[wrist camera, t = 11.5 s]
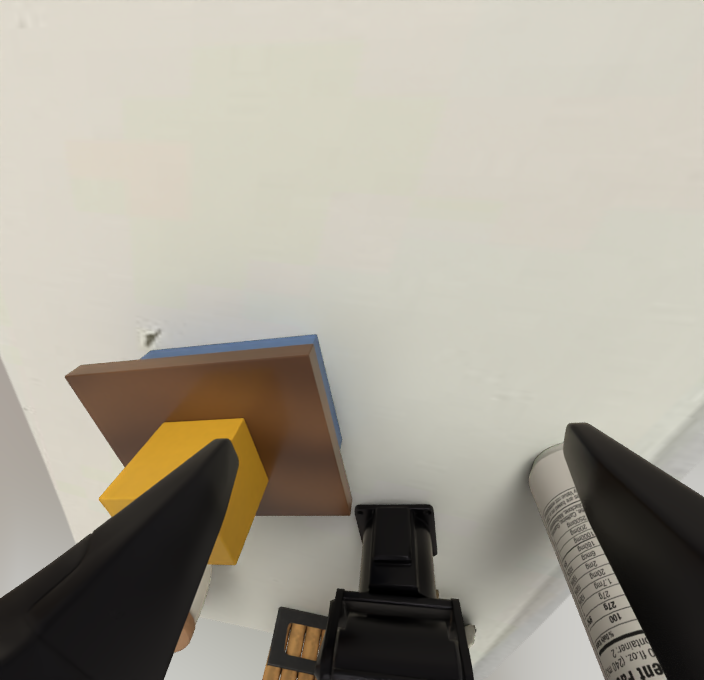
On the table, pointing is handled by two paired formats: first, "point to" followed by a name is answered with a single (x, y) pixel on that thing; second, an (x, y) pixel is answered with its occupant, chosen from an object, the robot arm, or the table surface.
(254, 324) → the table surface
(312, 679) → the ammunition clip
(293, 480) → the board
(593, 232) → the table surface
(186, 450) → the yellow block
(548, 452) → the energy drink can
